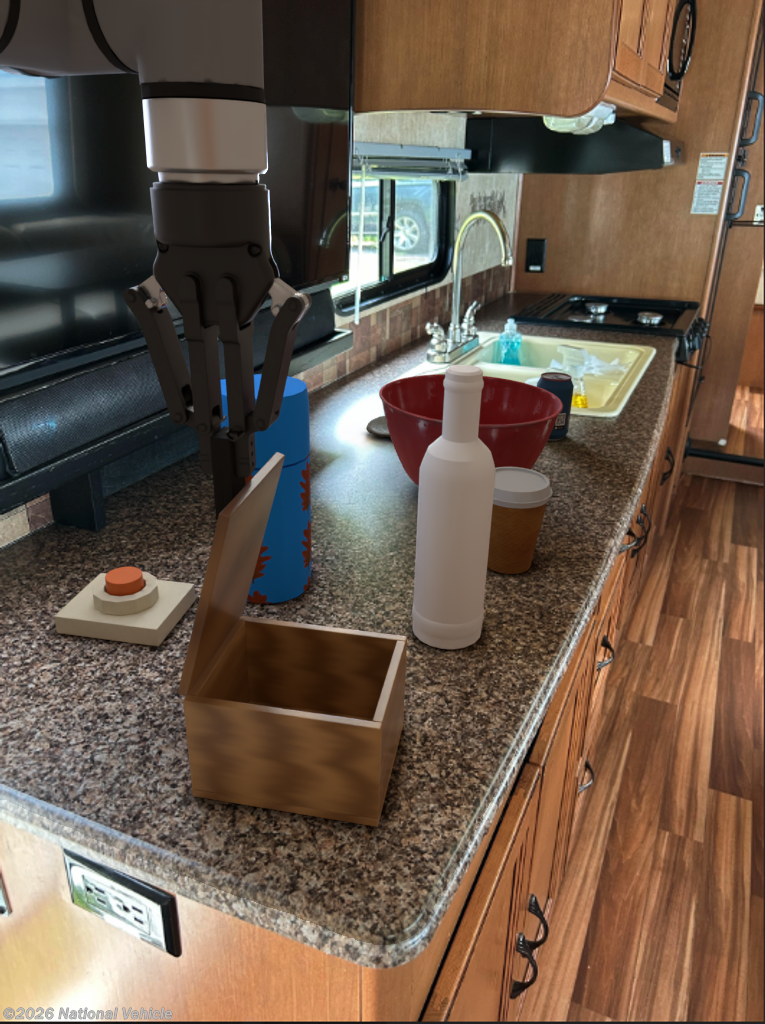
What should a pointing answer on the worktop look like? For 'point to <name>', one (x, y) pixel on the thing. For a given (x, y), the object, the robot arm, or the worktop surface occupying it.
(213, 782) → the wooden box
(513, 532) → the disposable coffee cup
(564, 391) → the soda can
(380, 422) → the lid
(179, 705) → the worktop surface
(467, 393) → the bottle
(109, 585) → the button
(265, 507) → the wooden box lid
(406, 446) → the mixing bowl
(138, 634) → the control block
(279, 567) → the thermos
